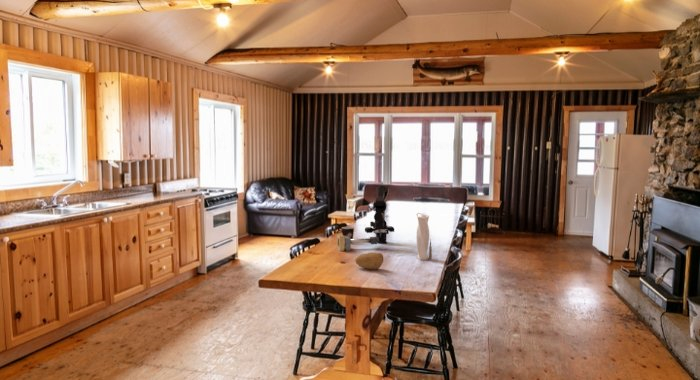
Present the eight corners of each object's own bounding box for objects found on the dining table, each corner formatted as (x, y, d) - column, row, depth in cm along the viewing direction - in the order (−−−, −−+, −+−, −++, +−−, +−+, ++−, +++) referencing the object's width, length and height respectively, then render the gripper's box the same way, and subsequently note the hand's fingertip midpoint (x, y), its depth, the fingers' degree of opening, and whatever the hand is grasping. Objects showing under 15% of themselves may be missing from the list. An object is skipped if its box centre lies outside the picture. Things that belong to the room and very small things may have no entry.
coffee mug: (354, 240, 329) (354, 226, 328) (353, 243, 321) (353, 229, 320) (338, 240, 331) (338, 226, 330) (336, 242, 322) (336, 228, 321)
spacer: (341, 248, 306) (341, 233, 305) (344, 250, 298) (344, 236, 297) (337, 248, 305) (337, 234, 304) (339, 251, 297) (339, 236, 296)
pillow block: (347, 247, 307) (347, 235, 306) (350, 250, 298) (350, 238, 298) (342, 247, 306) (343, 235, 306) (346, 250, 298) (346, 238, 297)
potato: (358, 265, 262) (358, 249, 261) (385, 268, 256) (385, 251, 255) (353, 269, 253) (353, 252, 253) (380, 272, 248) (381, 255, 247)
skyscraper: (419, 261, 272) (419, 214, 270) (413, 258, 280) (414, 212, 277) (432, 260, 275) (433, 213, 272) (426, 257, 282) (427, 211, 280)
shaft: (375, 242, 309) (375, 236, 308) (377, 243, 305) (377, 237, 304) (342, 244, 303) (342, 238, 303) (343, 245, 300) (343, 239, 299)
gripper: (389, 216, 316) (389, 239, 317) (362, 217, 311) (362, 240, 313) (394, 219, 305) (394, 242, 306) (367, 220, 300) (367, 244, 302)
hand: (379, 242), depth 307 cm, fingers closed
